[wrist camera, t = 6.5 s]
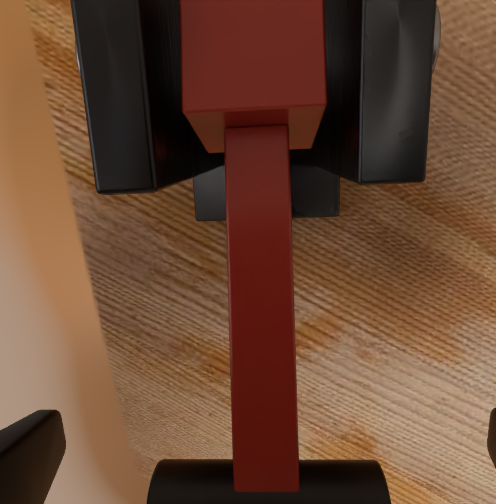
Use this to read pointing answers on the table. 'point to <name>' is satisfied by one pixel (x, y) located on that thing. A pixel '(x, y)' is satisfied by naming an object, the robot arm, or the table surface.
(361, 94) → the bracket
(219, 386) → the table surface
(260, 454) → the lever
